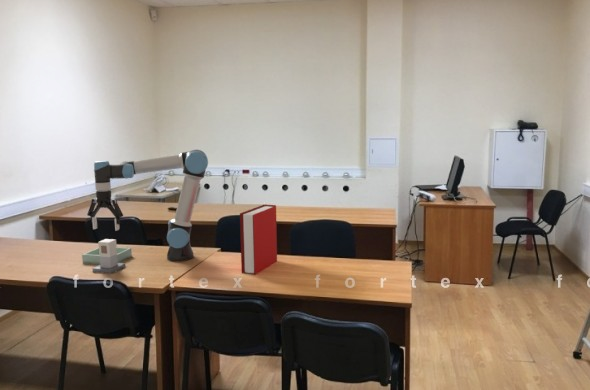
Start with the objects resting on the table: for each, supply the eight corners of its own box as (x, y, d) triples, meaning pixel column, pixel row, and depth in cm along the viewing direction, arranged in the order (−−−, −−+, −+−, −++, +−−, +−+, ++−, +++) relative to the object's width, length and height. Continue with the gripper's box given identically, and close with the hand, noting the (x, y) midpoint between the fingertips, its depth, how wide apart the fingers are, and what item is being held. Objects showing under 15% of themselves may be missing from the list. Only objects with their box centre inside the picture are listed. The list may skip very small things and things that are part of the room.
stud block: (125, 266, 274) (124, 253, 273) (112, 273, 263) (111, 259, 262) (106, 265, 277) (105, 252, 276) (92, 272, 266) (91, 258, 265)
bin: (131, 256, 295) (131, 248, 294) (113, 265, 277) (113, 256, 276) (102, 254, 299) (101, 246, 299) (82, 263, 282) (82, 254, 281)
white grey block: (117, 264, 272) (116, 239, 270) (110, 268, 266) (108, 242, 263) (107, 263, 274) (105, 238, 271) (99, 267, 267) (97, 242, 265)
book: (255, 275, 258) (253, 214, 253) (241, 273, 261) (239, 213, 256) (278, 260, 282) (277, 205, 277) (265, 259, 286) (264, 204, 281)
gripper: (128, 189, 264) (130, 228, 267) (87, 188, 270) (90, 226, 273) (120, 191, 256) (122, 232, 260) (78, 190, 263) (81, 229, 266)
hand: (106, 229), depth 267 cm, fingers open, 13 cm apart
